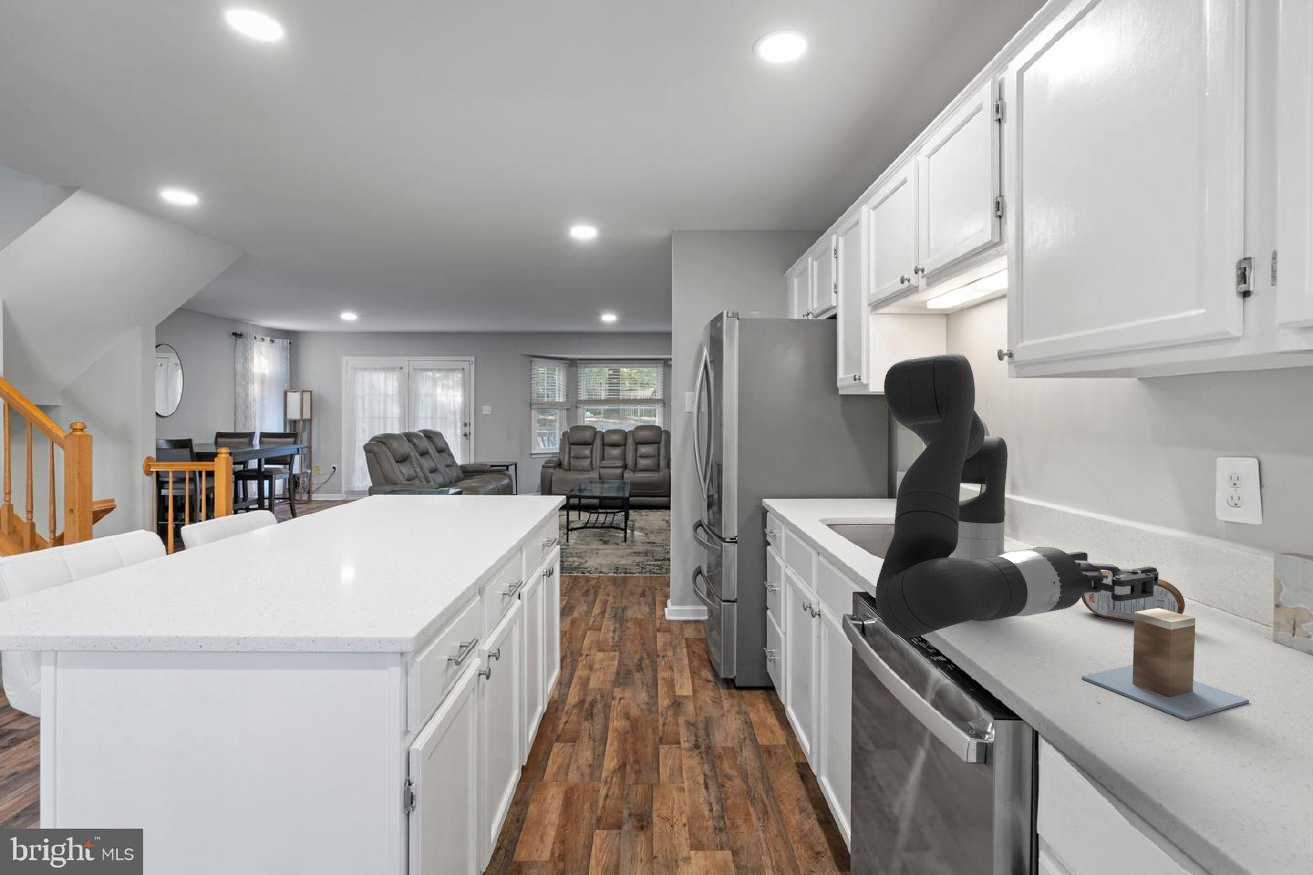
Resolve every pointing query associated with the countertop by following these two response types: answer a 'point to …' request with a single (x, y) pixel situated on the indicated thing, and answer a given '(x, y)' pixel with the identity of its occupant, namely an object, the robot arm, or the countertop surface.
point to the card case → (1163, 651)
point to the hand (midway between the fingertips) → (1117, 567)
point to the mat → (1181, 705)
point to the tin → (1135, 602)
